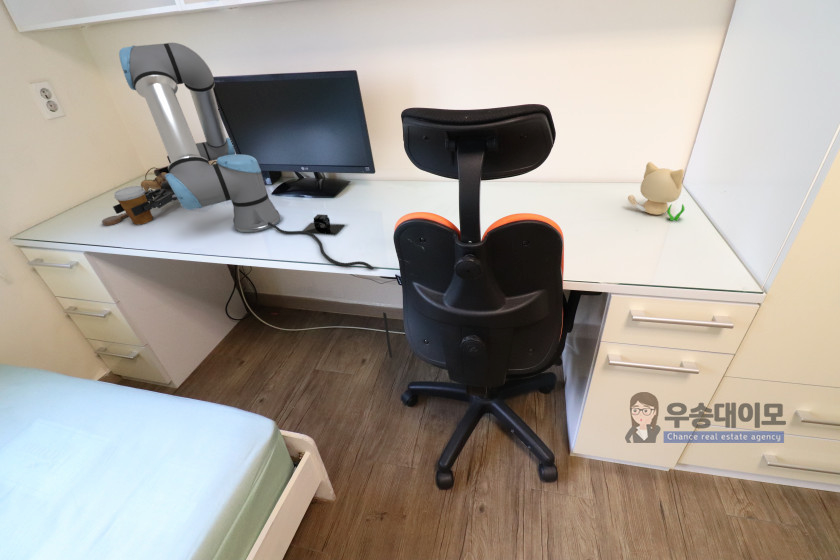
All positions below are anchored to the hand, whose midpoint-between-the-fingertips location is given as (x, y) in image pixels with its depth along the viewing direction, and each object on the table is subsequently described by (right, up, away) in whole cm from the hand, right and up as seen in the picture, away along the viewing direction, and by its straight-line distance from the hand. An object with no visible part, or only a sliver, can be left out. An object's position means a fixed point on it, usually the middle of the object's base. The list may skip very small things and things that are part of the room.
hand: (124, 211), depth 139 cm
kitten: (+178, -4, -18) cm, 179 cm away
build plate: (+73, -8, -10) cm, 75 cm away
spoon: (-7, +2, +15) cm, 17 cm away
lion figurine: (-8, +13, +31) cm, 34 cm away
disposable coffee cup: (+2, -3, +7) cm, 8 cm away
